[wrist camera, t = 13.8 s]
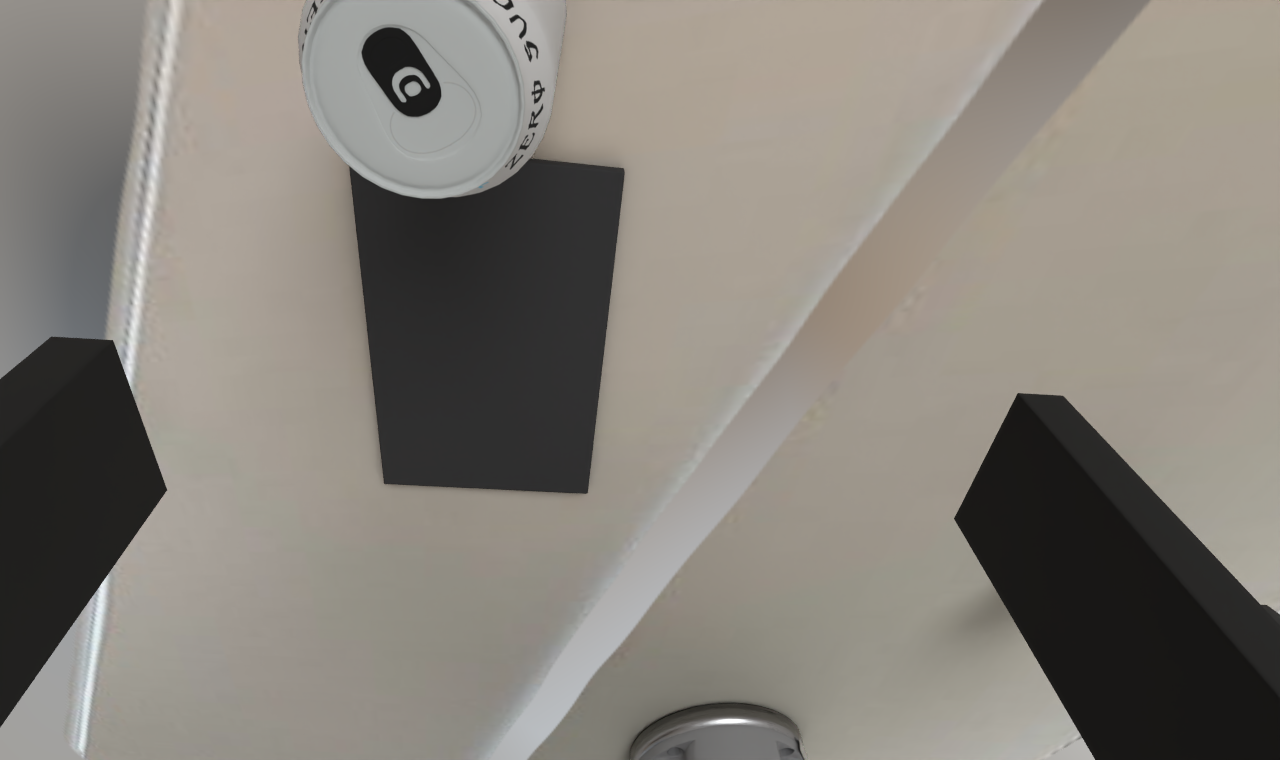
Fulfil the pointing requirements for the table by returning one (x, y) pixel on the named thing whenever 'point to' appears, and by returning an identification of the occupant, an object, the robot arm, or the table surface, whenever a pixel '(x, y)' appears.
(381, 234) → the desk mat
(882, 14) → the table surface
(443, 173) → the energy drink can
